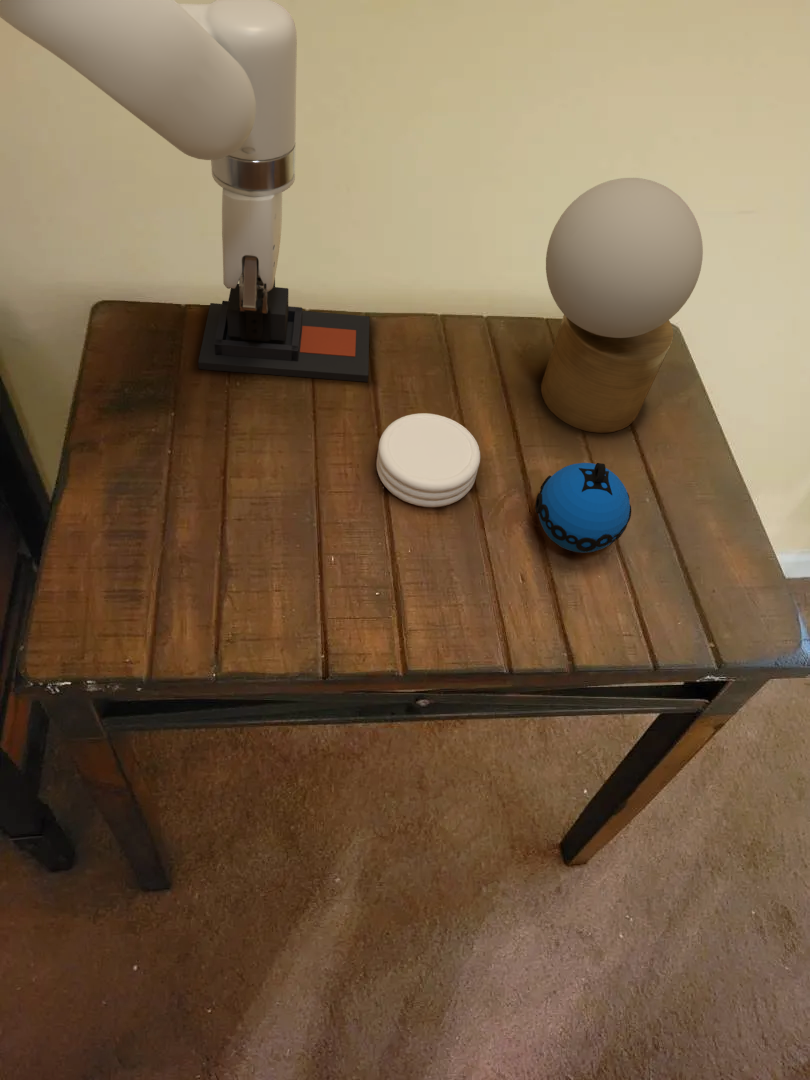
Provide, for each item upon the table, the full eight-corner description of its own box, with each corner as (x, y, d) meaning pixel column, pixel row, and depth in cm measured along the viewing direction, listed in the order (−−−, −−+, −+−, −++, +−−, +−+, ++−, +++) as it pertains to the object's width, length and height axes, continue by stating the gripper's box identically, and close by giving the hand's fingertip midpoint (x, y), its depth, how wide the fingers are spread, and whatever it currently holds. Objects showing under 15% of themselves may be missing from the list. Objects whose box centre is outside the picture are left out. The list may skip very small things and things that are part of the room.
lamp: (539, 457, 85) (615, 245, 65) (487, 367, 93) (542, 152, 73) (663, 434, 89) (771, 228, 69) (605, 349, 97) (686, 141, 77)
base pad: (198, 369, 87) (196, 351, 85) (210, 309, 93) (209, 291, 91) (367, 382, 89) (369, 364, 87) (368, 323, 95) (370, 305, 93)
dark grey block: (228, 336, 87) (226, 309, 84) (233, 309, 90) (231, 282, 87) (285, 341, 88) (285, 314, 85) (288, 314, 90) (288, 287, 88)
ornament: (619, 575, 77) (657, 509, 69) (529, 566, 77) (557, 498, 69) (609, 505, 82) (643, 435, 74) (525, 496, 82) (550, 425, 74)
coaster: (356, 476, 81) (358, 452, 78) (411, 420, 86) (415, 396, 83) (441, 526, 78) (447, 503, 75) (492, 465, 84) (499, 442, 81)
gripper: (222, 109, 79) (231, 272, 93) (197, 206, 68) (212, 372, 83) (301, 117, 79) (298, 278, 94) (288, 215, 69) (287, 378, 84)
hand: (258, 321), depth 88 cm, fingers closed on dark grey block, 4 cm apart
